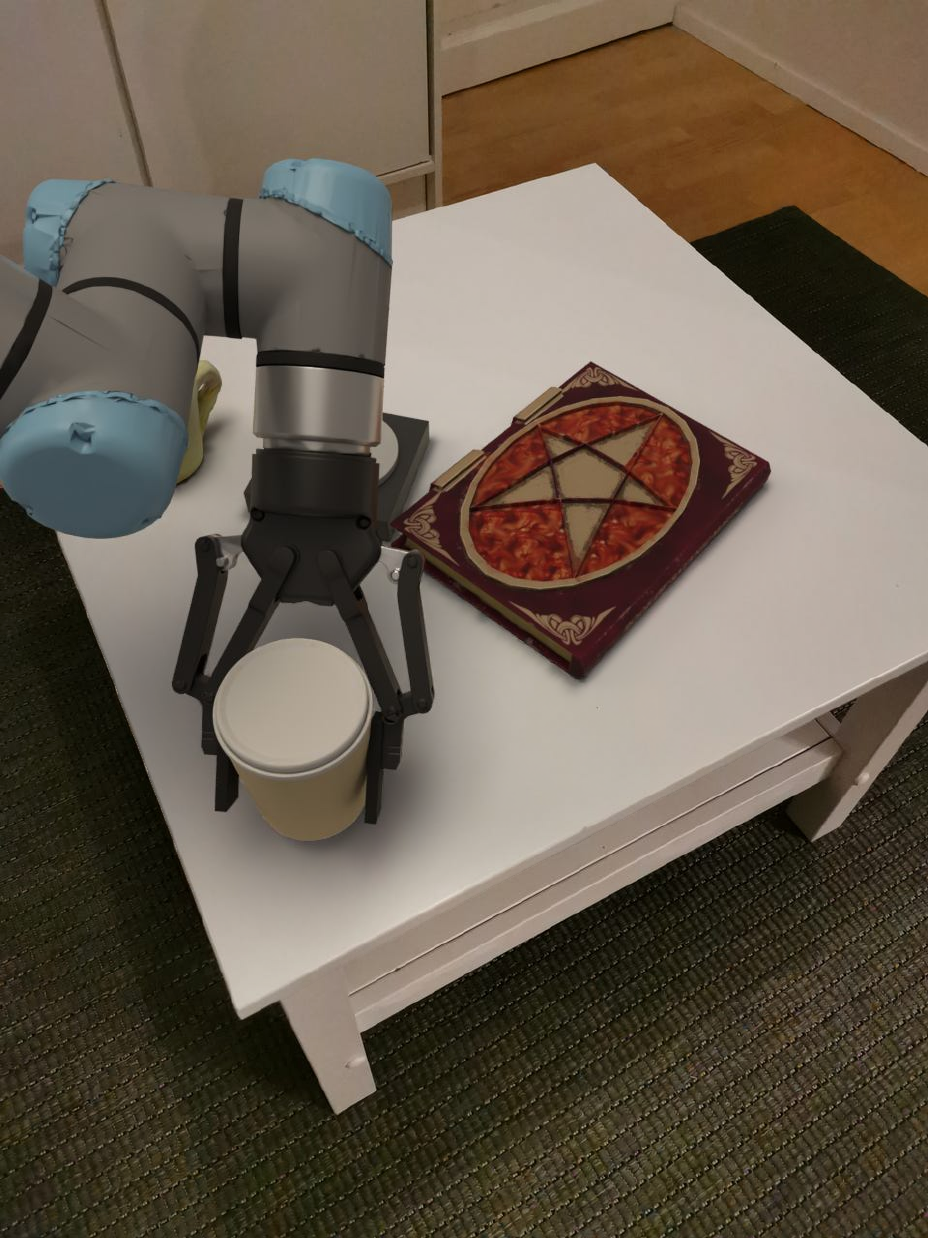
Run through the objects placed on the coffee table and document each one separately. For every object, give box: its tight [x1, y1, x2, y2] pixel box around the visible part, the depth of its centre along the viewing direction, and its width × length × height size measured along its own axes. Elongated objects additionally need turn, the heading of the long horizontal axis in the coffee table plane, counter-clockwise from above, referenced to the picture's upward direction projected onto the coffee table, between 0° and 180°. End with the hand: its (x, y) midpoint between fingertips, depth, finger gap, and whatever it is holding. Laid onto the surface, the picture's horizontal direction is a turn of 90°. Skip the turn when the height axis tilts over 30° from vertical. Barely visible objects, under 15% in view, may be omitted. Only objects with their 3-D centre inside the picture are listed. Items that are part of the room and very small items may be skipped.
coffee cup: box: [213, 637, 374, 842], centre depth 58 cm, size 9×9×12 cm
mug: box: [176, 359, 223, 485], centre depth 82 cm, size 12×10×10 cm
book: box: [390, 360, 772, 679], centre depth 80 cm, size 28×21×5 cm
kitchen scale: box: [243, 411, 430, 542], centre depth 82 cm, size 13×13×3 cm
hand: (299, 809), depth 58 cm, fingers closed on coffee cup, 9 cm apart
